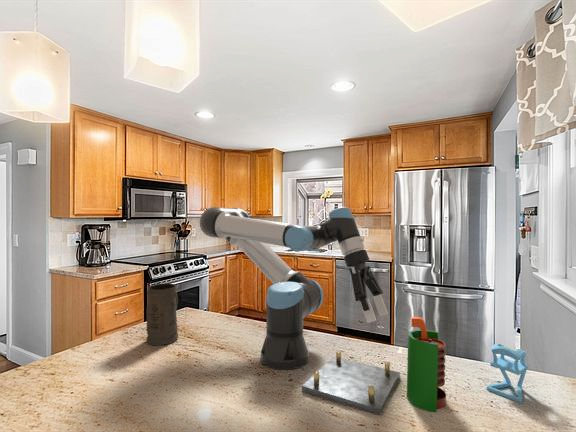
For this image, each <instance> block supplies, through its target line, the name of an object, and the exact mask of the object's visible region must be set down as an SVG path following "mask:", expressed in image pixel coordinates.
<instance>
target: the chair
mask: <svg viewBox="0 0 576 432" xmlns="http://www.w3.org/2000/svg"><path fill="white" fill-rule="evenodd" d="M491 351H492V356H493V360H492V361H491V362H490V363H489V364H490V367H492V368H495V369H499V370H500V372H501V374H502V376H503V377H504V381H503V382H498V383H492V384H489V385H486V390H487V391H488V392H490V393H493V394H496V395H498V396H501V397H504V398H507V399H509V400H512V401H514V402H517V403H523V392H522V391H523V383H524V380H525V377H526V373H527V370H528V369H529V365H528V364H526V363H525V362H526V361H525V360H526V359H525V358H526V355H527V351H525V350H523V349H517V350H515V349H511V348H510V347H507V346H504V345H503V344H501V343H494V344H493V345H492V346H491ZM497 355H500V356H499V357H498V356H497ZM505 356H506V357H508V358H506V357H505ZM509 358H510V359H509ZM511 359H513V360H511ZM519 360H520V361H519ZM506 371H507V372H509V373H511V374H514V375H517V376H519V378H518V381H517V384H516V394H517V396H515V395H513V394H510V393H508V392H506V391H502V390H500V389H502V388H503V389H504V388H507V387H510V386H512V382H511V379H510V378H509V376H508V374H507V372H506Z"/></svg>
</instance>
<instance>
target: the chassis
mask: <svg viewBox="0 0 576 432" xmlns="http://www.w3.org/2000/svg"><path fill="white" fill-rule="evenodd" d="M335 353H336V354H335V355H336V356H333V357H332V358H331V359H329V360H328V362H326V363H325V364H323V366H322V367H321V368H320V369H318V370H316V371H313V375H312V376H310V378H309V379H308V380H306V381H305V383H303V384H302V385H301V392H302V393H305V394H309V395H312V396H315V397H318V398H321V399H324V400H328V401H329V402H330V401H331V402H334V403H337V404H340V405H344V406H347V407H349V408H353V409H357V410H360V411H362V412H366V413H369V414H371V415H372V414H373V415H376V416H379V417H381V415H382V413H383V411H384V409H385V407H386V406H387V403H388V402H389V400H390V397H391V395H392V394H393V392H394V390H395V388H396V386H397V384H398V382H399V380H400V378H401V375H400V374H401V373H400V371H396V370H392V369H391V363H390V362H389V361H385V362H384V368H383V367H378V366H374V365H370V364H365V363H362V362H361V363H360V362H357V361H353V360H348V359H344V358H342V351H341V350H340V351H338V350H337V351H335Z"/></svg>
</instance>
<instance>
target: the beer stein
mask: <svg viewBox="0 0 576 432" xmlns="http://www.w3.org/2000/svg"><path fill="white" fill-rule="evenodd" d="M177 291H178V289H177V285H176V284H174V283H158V284H153V285H150V286H148V287H147V290H146V294H147V299H146V300H147V304H146V334H147V337H146V342H147V344H148V345H151V346H165V345H169V344H171V343H174V342H175V341H177V340H178V338H179V333H178V329H179V328H178V319H177V317H178V316H177V309H178V303H179V298H178V297H179V296H178V292H177Z"/></svg>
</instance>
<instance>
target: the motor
mask: <svg viewBox="0 0 576 432" xmlns="http://www.w3.org/2000/svg"><path fill="white" fill-rule="evenodd" d="M410 327H411V328H419V329H414V330H410V331H408V334H407V368H406V369H407V371H406V399H407V400H408V401H409V403H411V405H413V406H414V407H416V408H418V409H421V410H423V411H426V412H431V413H437V411H438V410H442V409H444V408H446V406H447V393H446V391H445V390H443V389H442V388H441V387H443V386H445V383H446V379H445V377H446V372H445V371H446V348H447V347H446V346H447V345H446V342H444V341H443V340H440V332H439V331H435V330H429V329H427V326H426V323H425V321H424V319H423V318H422V317H421V316H411V325H410Z"/></svg>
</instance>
